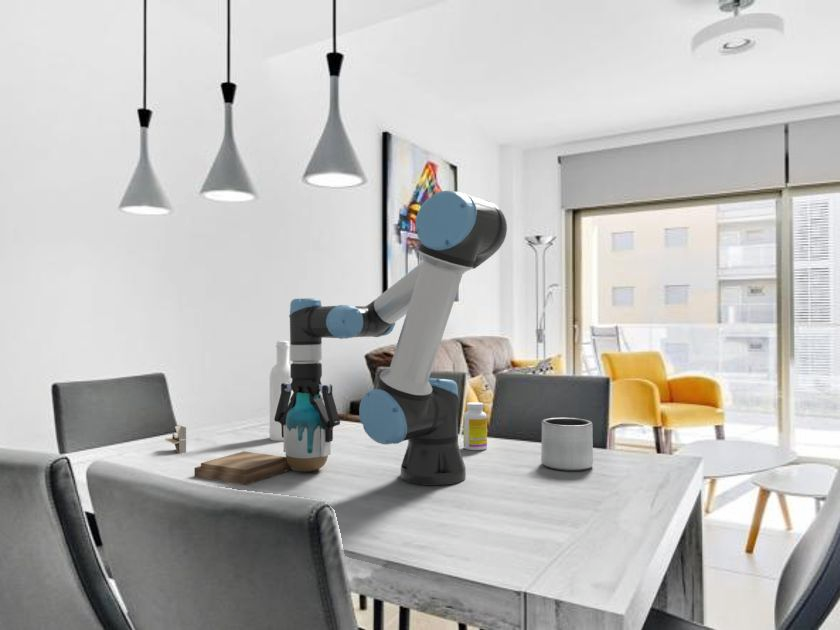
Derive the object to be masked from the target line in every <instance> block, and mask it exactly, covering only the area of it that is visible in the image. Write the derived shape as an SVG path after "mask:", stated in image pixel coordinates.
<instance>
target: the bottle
mask: <svg viewBox="0 0 840 630" xmlns="http://www.w3.org/2000/svg"><path fill="white" fill-rule="evenodd" d="M275 347H276V364H275V365H274V366H273V367H272V368H271V370H270V374H269V432H268V433H269V439H270V441H274V442H284V438H283V437H282V428H281V424H280V423H279V422H278V421H277V422H276V421H275V420H274V419H275V415H276V411H277V407H278V403H279V399H280V395H281V384H282V383H288V382H290V383H292V378H291V377H290V365H291V364H290V362H289V361H290V342H289V341H288V340H277V341H276V346H275ZM293 393H294V392H293V390H292V391H291V396H290V399H291V397H292V395H293ZM290 401H291V400H289V403H290ZM288 405H289V404H288Z"/></svg>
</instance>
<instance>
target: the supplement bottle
mask: <svg viewBox="0 0 840 630" xmlns="http://www.w3.org/2000/svg"><path fill="white" fill-rule="evenodd" d="M466 409H467V411H465V412H464V413H463V417H462V419H463V448H464V449H465V450H467V451H473V452H474V451H477V452H478V451H484V450H486V449H487V448H488V423H487V422H488V419H487V418H488V415H487V413H486V412H485V411H484V410H483V409H484V403H483V402H477V401H476V402H475V401H473V402H472V401H471V402H466Z"/></svg>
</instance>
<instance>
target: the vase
mask: <svg viewBox="0 0 840 630" xmlns="http://www.w3.org/2000/svg"><path fill="white" fill-rule="evenodd" d="M313 397H314V399H318V398H319V394H318V395H317V396H313ZM323 427H324V426H323V424H322V422H321V420H320V416H319V413H318V412H317V411H316V410H315V408H314V406H313V405H312V404H311V403H310V401H309V394H308V393H300V392H298V393H297V395H296V404H295V406H294V407H293V408H291V409H290V410H289V411H288V413H287V416H286V424H285V452H284V453H285V457H286V459H287V462H288V464H289V466H290V467H291V468H292V469H291V470H295V471H298V472H304V473H305V472H306V473H307V472H315V471H317V470H320V469H322V468H323V467H325V465H326V463H327V461H328V459H329V455H327V456H324V457H322V456H321V429H322V428H323Z"/></svg>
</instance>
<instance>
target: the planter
mask: <svg viewBox="0 0 840 630" xmlns="http://www.w3.org/2000/svg"><path fill="white" fill-rule="evenodd" d="M593 440H594V439H593V421H590V420H588V419H583V418H577V417H549V418H544V419H542V420H541V453H540V454H541V457H540V458H541V459H540V460H541V464H542V465H543V466H545V467H546V468H548V469H552V470H557V471H561V472H562V471H563V472H579V471H580V472H582V471H585V470H588V469H590V468H591V467H593V464H594V449H593V448H594V447H593V446H594V444H593V443H594V441H593Z"/></svg>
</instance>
